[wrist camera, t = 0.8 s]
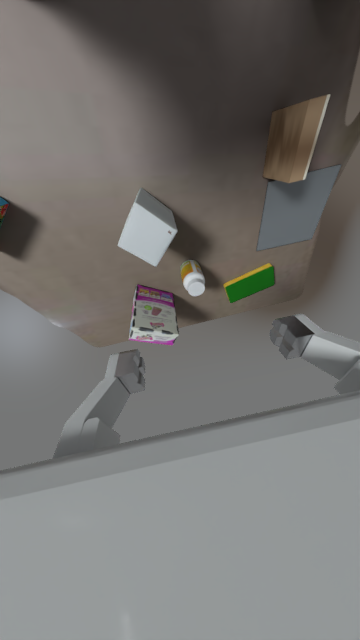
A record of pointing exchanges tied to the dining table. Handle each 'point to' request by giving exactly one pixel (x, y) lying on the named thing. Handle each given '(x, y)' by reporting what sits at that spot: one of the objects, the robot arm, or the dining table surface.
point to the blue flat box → (3, 209)
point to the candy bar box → (153, 316)
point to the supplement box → (148, 229)
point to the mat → (294, 208)
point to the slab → (293, 139)
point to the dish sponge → (250, 283)
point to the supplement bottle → (192, 277)
